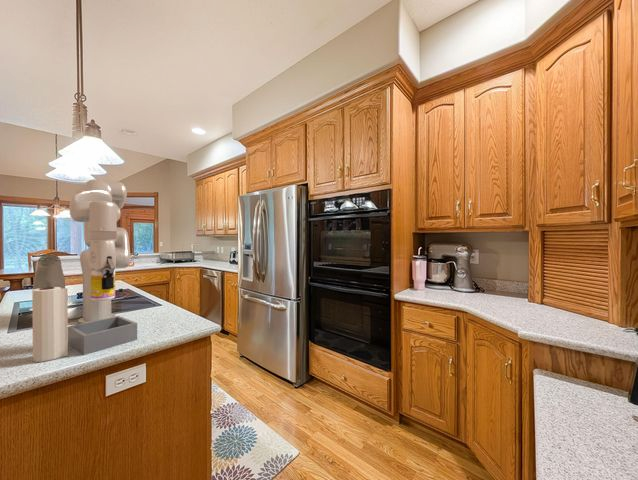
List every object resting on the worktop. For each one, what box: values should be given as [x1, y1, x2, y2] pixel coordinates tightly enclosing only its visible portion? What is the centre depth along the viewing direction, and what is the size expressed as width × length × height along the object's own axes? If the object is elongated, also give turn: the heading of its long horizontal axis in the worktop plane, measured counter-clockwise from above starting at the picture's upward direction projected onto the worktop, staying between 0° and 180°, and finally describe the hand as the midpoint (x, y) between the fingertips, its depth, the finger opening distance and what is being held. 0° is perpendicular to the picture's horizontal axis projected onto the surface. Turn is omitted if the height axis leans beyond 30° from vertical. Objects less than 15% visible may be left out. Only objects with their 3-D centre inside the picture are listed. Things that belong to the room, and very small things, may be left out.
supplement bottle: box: [91, 267, 116, 301], centre depth 93 cm, size 7×7×13 cm
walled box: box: [68, 315, 138, 356], centre depth 94 cm, size 15×15×6 cm
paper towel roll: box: [31, 287, 69, 363], centre depth 81 cm, size 7×6×21 cm
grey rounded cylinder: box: [32, 254, 66, 290], centre depth 120 cm, size 10×10×28 cm
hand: (103, 287), depth 93 cm, fingers closed on supplement bottle, 6 cm apart
